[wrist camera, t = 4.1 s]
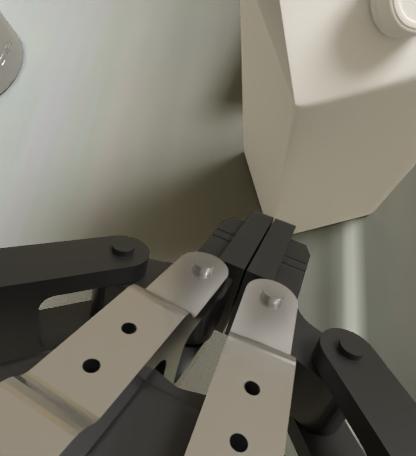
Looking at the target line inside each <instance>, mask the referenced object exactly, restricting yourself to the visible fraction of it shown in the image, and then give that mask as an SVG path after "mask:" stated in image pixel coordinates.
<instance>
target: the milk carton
mask: <svg viewBox="0 0 416 456" xmlns="http://www.w3.org/2000/svg"><path fill="white" fill-rule="evenodd" d="M240 11H241V54H242V98H243V141H244V153H245V156H246V160H247V163H248V166H249V169H250V173H251V176H252V179H253V183H254V186H255V189H256V192H257V196H258V199H259V202H260V206H261V209H262V212H263V214H266V215H268V216H271V217H274V220H275V218H277V219H279V220H282V221H284V222H287V223H290V224H292V225H295V226H296V228H295V230H294V233H293V234H296V233H299V232H303V231H307V230H311V229H315V228H319V227H323V226H327V225H331V224H335V223H338V222H342V221H346V220H350V219H354V218H358V217H362V216H366V215H369V214H371V213H373V212H374V211H375V210H376V208H377V207H378V206H379V205H380V204H381V203H382V202H383V201H384V199H385V198H386V197H387V196H388V195H389V194H390V193H391V191H392V190H393V189H394V188H395V187H396V186H397V185H398V184H399V182H400V181H401V180H402V179H403V178H404V177H405V176H406V174H407V173H408V172H409V171H410V170H411V169H412V168H413V167H414V165H415V164H416V0H240ZM274 220H273V222H274ZM272 224H273V223H272Z"/></svg>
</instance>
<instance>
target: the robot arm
mask: <svg viewBox="0 0 416 456" xmlns="http://www.w3.org/2000/svg"><path fill="white" fill-rule="evenodd" d="M22 61H23V47H22V43H21V41H20V39H19V37H18V35H17V34H16V32H15V31H14V30H13V28H12V27H11V25H10V24H9V23H8V21H7V20H6V19H5V17H4V16H3V14H2V13H1V12H0V94H1V93H2V92H3V91H4V90H6V89H7V88H8V87H9V85H10V84H11V83H12V82H13V80H14V79H15V78H16V76H17V74H18V72H19V70H20V68H21V64H22ZM273 220H274V217H271V216H268V215H266V214H263V213H261V212H258V211H255V210H253V211H252V213H251V214H250V215H249V217H248V218H247V220H246V221H245V222H244V221H242V220H239V219H237V218H231V219H228V220H225V221H223V222H222V223H221V224H220V226H219V227H218V228H217V230H215V232H214V233H213V234H212V235H211V236H210V238H209V239H208V240H207V241H206V242H205V244H204V245H203V246H202V247H201V248H200V250H199V251H198V252H189V253H186V254H184V255H182V256H181V257H180V258H179V259H178V260H176V261H175V262H174V263H168V262H162V261H157V260H152V259H149V250H148V248H147V246H146V245H145V244H144V243H143V242H141V241H139V240H137V239H135V238H132V237H128V236H109V237H100V238H91V239H81V240H72V241H63V242H54V243H45V244H36V245H26V246H17V247H8V248H0V456H285V455H284V452H285V445H286V437H287V432H288V434H289V436H290V438H291V441H292V443H293V445H294V447H295V449H296V452H297V454H298V456H365V454H364V453H363V451H362V449H361V448H360V446H359V444H358V443H357V441H356V439H355V437H354V436H353V434H352V432H351V431H350V429H349V427H348V426H347V424H346V422H345V421H344V420H345V419H347V421H348V423H349V424H350V426H351V428H352V429H353V431H354V433H355V434H356V436H357V438H358V439H359V441H360V443H361V444H362V446H363V448H364V450H365V452H366V454H367V456H416V403H415V402H414V400H413V399H412V398H411V397H410V395H409V394H408V393H407V391H406V390H405V389H404V388H403V386H402V385H401V384H400V382H399V381H398V380H397V379H396V377H395V376H394V375H393V373H392V372H391V371H390V370H389V368H388V367H387V366H386V364H385V363H384V362H383V360H382V359H381V358H380V357H379V355H378V354H377V353H376V351H375V350H374V349H373V348H372V347H371V345H370V344H369V343H368V342H366V341H365V340H364V339H363V338H361V337H360V336H358V335H357V334H355V333H353V332H350V331H348V330H345V329H340V328H331V329H327V330H325V331H324V332H323V333H322V332H320V331H319V330H317V329H316V328H315V327H313V326H312V325H311V324H309V323H308V322H307V321H306V320H305V319H304V318H303V316H302V315H301V313H300V312H299V310H298V301H297V298H298V295H299V292H300V288H301V285H302V281H303V278H304V275H305V271H306V268H307V264H308V261H309V258H310V254H309V251H308V249H307V246H306V245H304V244H301V243H298V242H296V241H293V240H291V238H292V235H293V233H294V230H295V228H296V226H295V225H292V224H290V223H287V222H284V221H282V220H279V219H277V218H275V220H274V222H273ZM272 223H273V224H272ZM90 289H92V300H90V301H85V302H79V303H74V304H69V305H64V306H59V307H54V308H48V309H43V310H38V308H39V306H40V304H41V303H42V302H43V301H44V300H46V299H47V298H49V297H52V296H56V295H62V294H68V293H73V292H79V291H84V290H90ZM229 319H230V320H229ZM228 321H229V323H228ZM227 323H228V326H227V329H226V332H225V334H226V335H228V338H227V340H226V343H225V346H224V349H223V351H222V354H221V357H220V360H219V362H218V365H217V368H216V370H215V373H214V376H213V379H212V381H211V384H210V387H209V390H208V392H207V395H203V394H199V393H195V392H191V391H187V390H183V389H180V388H178V387H179V385H180V384H181V382H182V381H183V380H184V378H185V377H186V375H187V374H188V372H189V371H190V369H191V368H192V366H193V365H194V363H195V362H196V360H197V359H198V358H199V356H200V355H201V353H202V352H203V350H204V348H205V346H206V343H207V340H208V339H209V338H210V337H211V335H212V333H213V331H214V330H217V331H219V332H221V333H223V331H224V329H225V327H226V325H227Z"/></svg>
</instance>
